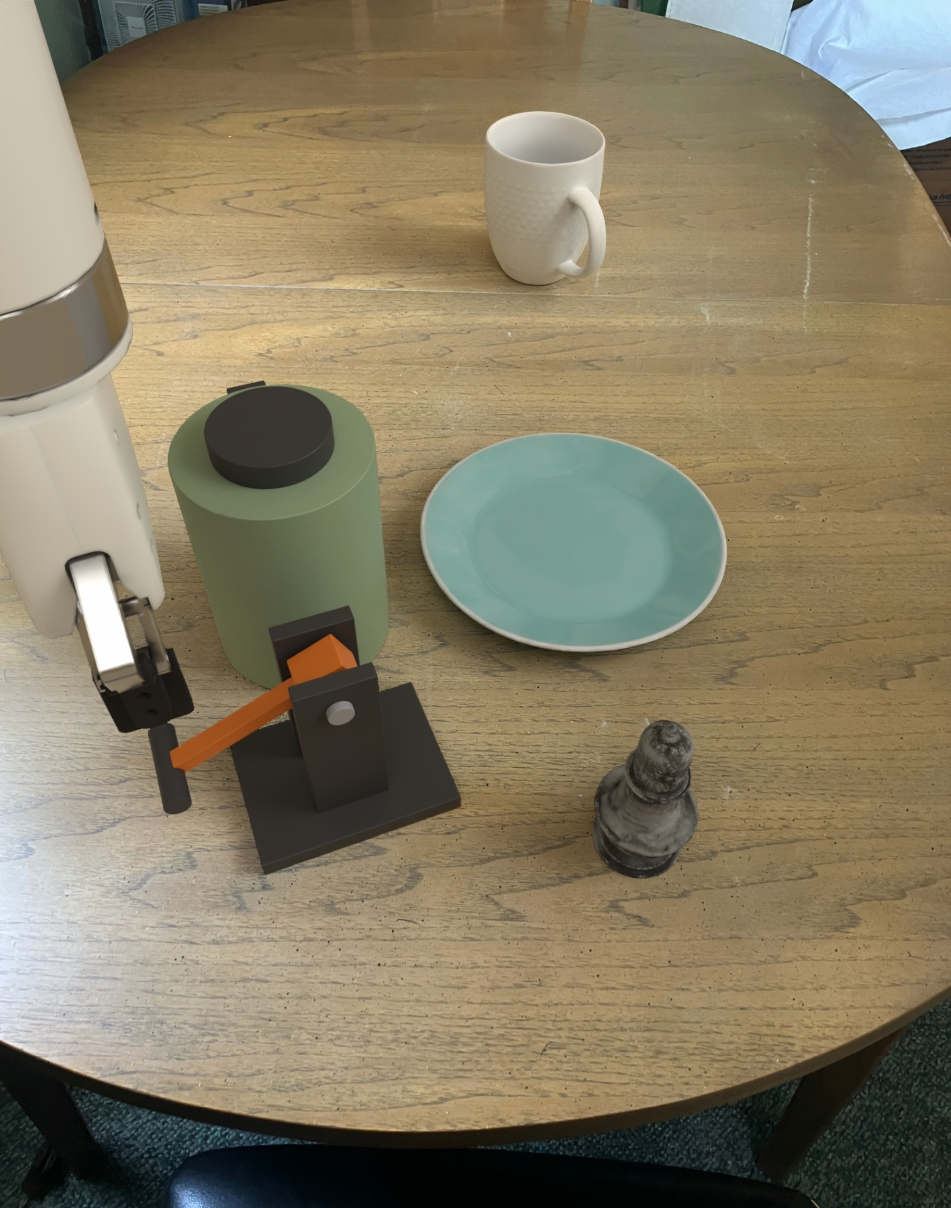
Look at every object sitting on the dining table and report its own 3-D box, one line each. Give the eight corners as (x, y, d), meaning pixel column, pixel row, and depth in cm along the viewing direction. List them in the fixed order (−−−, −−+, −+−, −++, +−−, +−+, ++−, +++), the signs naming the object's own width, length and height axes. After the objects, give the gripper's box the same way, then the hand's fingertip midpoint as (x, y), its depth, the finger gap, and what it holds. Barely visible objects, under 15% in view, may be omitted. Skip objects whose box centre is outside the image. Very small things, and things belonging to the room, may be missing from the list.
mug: (636, 296, 93) (659, 163, 83) (546, 330, 89) (558, 195, 79) (547, 229, 101) (557, 100, 91) (460, 258, 97) (461, 126, 87)
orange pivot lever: (181, 820, 50) (151, 806, 48) (164, 744, 53) (136, 729, 51) (373, 704, 49) (350, 685, 47) (345, 633, 52) (323, 613, 50)
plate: (483, 427, 80) (484, 400, 77) (745, 498, 75) (754, 471, 73) (369, 617, 66) (367, 590, 64) (680, 718, 61) (688, 693, 59)
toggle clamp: (264, 875, 54) (223, 760, 44) (230, 748, 59) (186, 619, 49) (461, 807, 57) (463, 684, 47) (411, 691, 62) (404, 559, 52)
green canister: (241, 714, 61) (182, 520, 47) (200, 569, 69) (139, 368, 55) (412, 663, 64) (401, 466, 50) (353, 529, 72) (331, 328, 58)
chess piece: (582, 874, 54) (610, 768, 45) (591, 785, 58) (617, 669, 49) (686, 891, 54) (734, 786, 45) (687, 799, 58) (732, 685, 48)
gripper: (-126, 202, 35) (35, 530, 48) (-126, 515, 24) (78, 822, 38) (86, 169, 36) (184, 493, 50) (168, 446, 26) (264, 762, 39)
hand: (138, 635), depth 44 cm, fingers open, 9 cm apart
